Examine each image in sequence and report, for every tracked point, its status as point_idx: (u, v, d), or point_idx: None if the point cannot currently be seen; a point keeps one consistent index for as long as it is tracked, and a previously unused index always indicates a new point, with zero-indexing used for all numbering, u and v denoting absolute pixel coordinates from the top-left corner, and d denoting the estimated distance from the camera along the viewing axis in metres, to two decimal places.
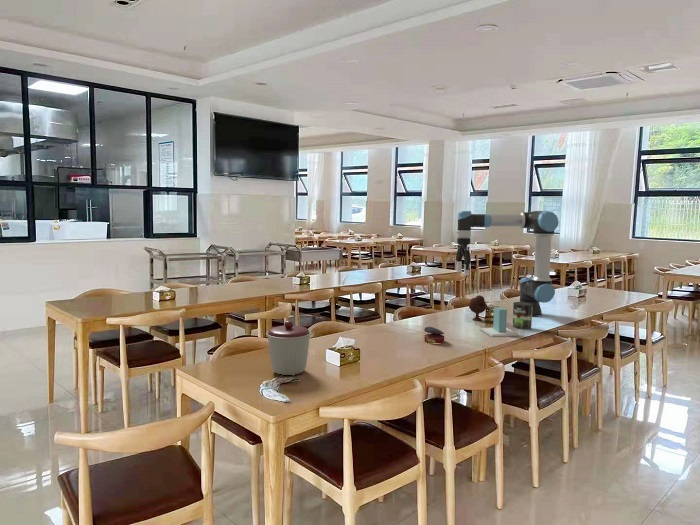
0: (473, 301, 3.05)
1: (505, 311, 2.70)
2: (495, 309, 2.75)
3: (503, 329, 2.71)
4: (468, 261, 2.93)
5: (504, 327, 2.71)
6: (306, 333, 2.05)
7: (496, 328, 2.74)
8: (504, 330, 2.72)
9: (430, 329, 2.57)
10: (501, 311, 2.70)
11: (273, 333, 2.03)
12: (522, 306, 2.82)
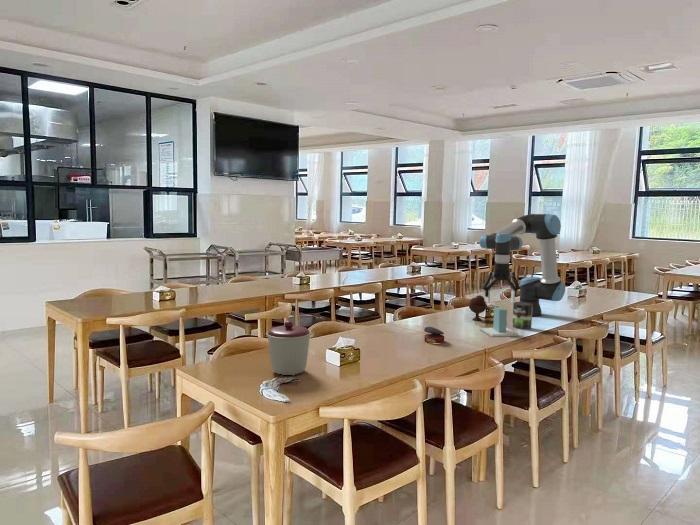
0: (473, 301, 3.05)
1: (505, 311, 2.70)
2: (495, 309, 2.75)
3: (503, 329, 2.71)
4: (482, 287, 2.71)
5: (504, 327, 2.71)
6: (306, 333, 2.05)
7: (496, 328, 2.74)
8: (504, 330, 2.72)
9: (430, 329, 2.57)
10: (501, 311, 2.70)
11: (273, 333, 2.03)
12: (522, 306, 2.82)
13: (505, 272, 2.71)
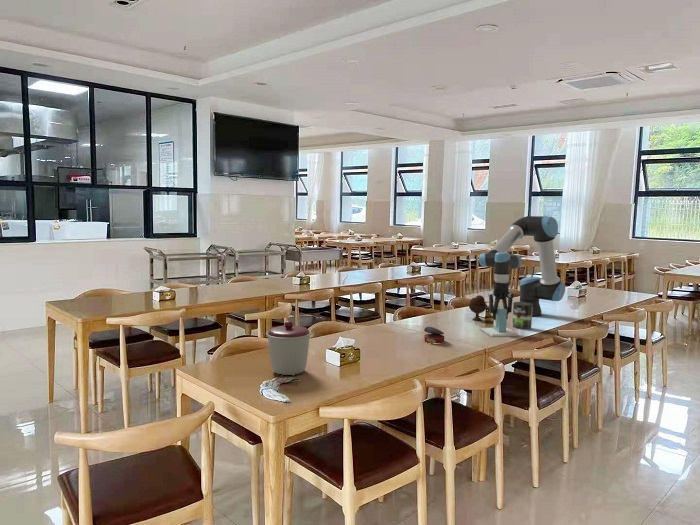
0: (473, 301, 3.05)
1: (505, 311, 2.70)
2: None
3: (503, 329, 2.71)
4: (490, 310, 2.73)
5: (504, 327, 2.71)
6: (306, 333, 2.05)
7: (496, 328, 2.74)
8: (504, 330, 2.72)
9: (430, 329, 2.57)
10: (501, 311, 2.70)
11: (273, 333, 2.03)
12: (522, 306, 2.82)
13: (504, 291, 2.72)
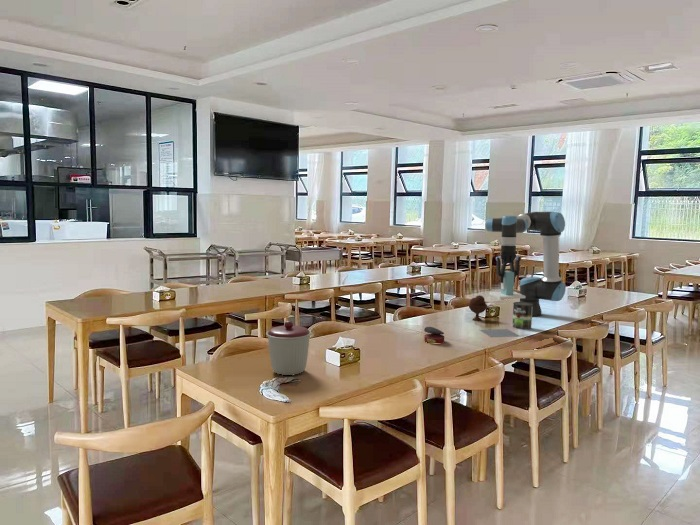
0: (473, 301, 3.05)
1: (512, 274, 2.72)
2: None
3: (510, 292, 2.73)
4: (497, 273, 2.75)
5: (511, 290, 2.73)
6: (306, 333, 2.05)
7: (504, 291, 2.75)
8: (511, 293, 2.73)
9: (430, 329, 2.57)
10: (508, 274, 2.71)
11: (273, 333, 2.03)
12: (522, 306, 2.82)
13: (512, 254, 2.73)
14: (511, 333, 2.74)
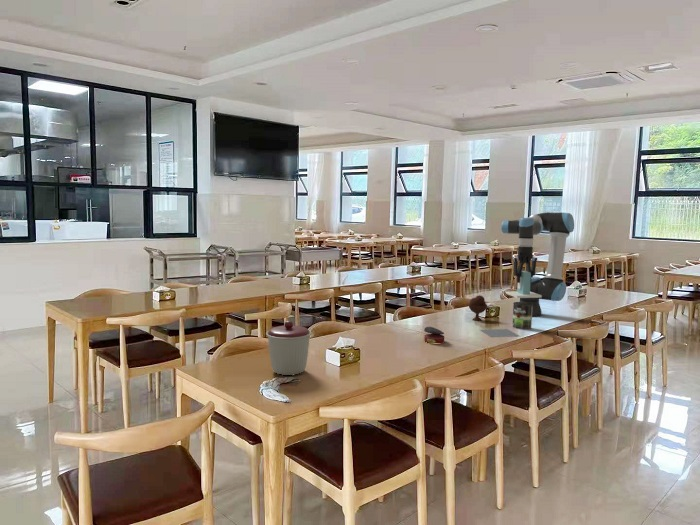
0: (473, 301, 3.05)
1: (529, 274, 2.82)
2: None
3: (527, 291, 2.83)
4: (514, 273, 2.84)
5: (528, 289, 2.83)
6: (306, 333, 2.05)
7: (520, 291, 2.85)
8: (528, 292, 2.83)
9: (430, 329, 2.57)
10: (525, 274, 2.81)
11: (273, 333, 2.03)
12: (522, 306, 2.82)
13: (528, 255, 2.83)
14: (511, 333, 2.74)
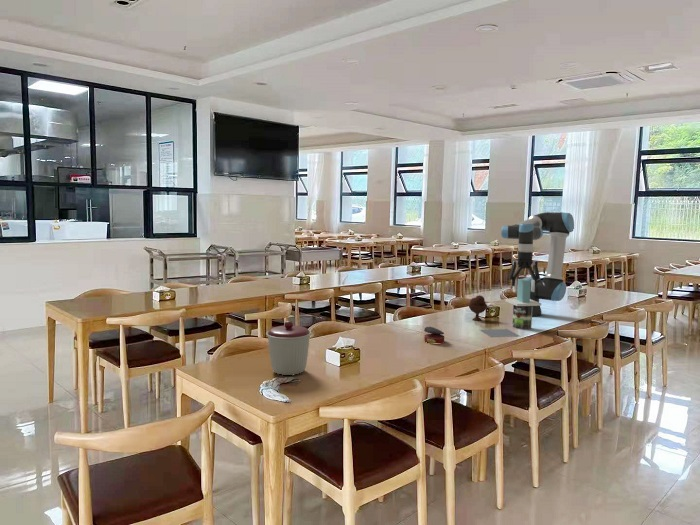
0: (473, 301, 3.05)
1: (529, 282, 2.82)
2: (519, 280, 2.87)
3: (527, 299, 2.83)
4: (509, 276, 2.84)
5: (528, 297, 2.83)
6: (306, 333, 2.05)
7: (520, 299, 2.85)
8: (528, 300, 2.83)
9: (430, 329, 2.57)
10: (525, 282, 2.82)
11: (273, 333, 2.03)
12: (522, 306, 2.82)
13: (528, 260, 2.83)
14: (511, 333, 2.74)
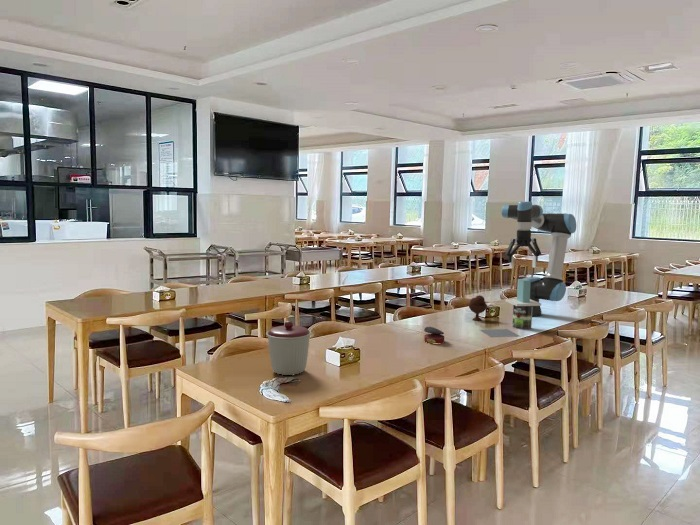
0: (473, 301, 3.05)
1: (529, 282, 2.82)
2: (519, 280, 2.87)
3: (527, 299, 2.83)
4: (506, 253, 2.86)
5: (528, 297, 2.83)
6: (306, 333, 2.05)
7: (520, 299, 2.85)
8: (528, 300, 2.83)
9: (430, 329, 2.57)
10: (525, 282, 2.82)
11: (273, 333, 2.03)
12: (522, 306, 2.82)
13: (527, 238, 2.85)
14: (511, 333, 2.74)
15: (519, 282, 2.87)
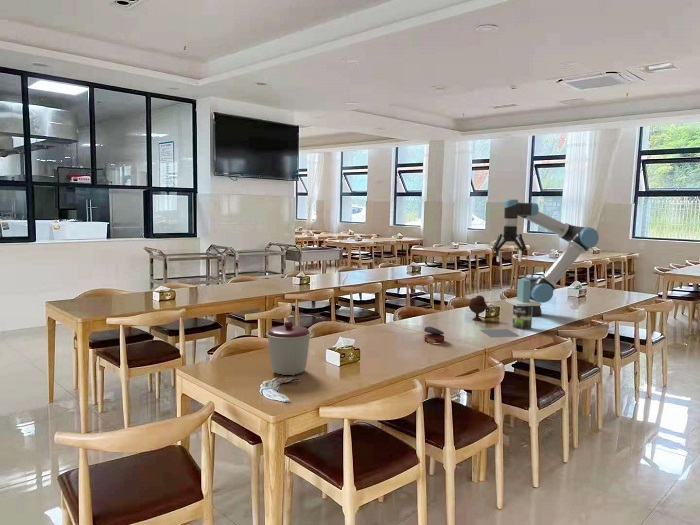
0: (473, 301, 3.05)
1: (529, 282, 2.82)
2: (519, 280, 2.87)
3: (527, 299, 2.83)
4: (493, 247, 3.06)
5: (528, 297, 2.83)
6: (306, 333, 2.05)
7: (520, 299, 2.86)
8: (528, 300, 2.83)
9: (430, 329, 2.57)
10: (525, 282, 2.82)
11: (273, 333, 2.03)
12: (522, 306, 2.82)
13: (513, 234, 3.06)
14: (511, 333, 2.74)
15: (519, 282, 2.87)
